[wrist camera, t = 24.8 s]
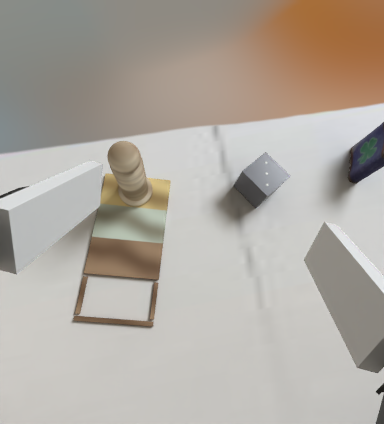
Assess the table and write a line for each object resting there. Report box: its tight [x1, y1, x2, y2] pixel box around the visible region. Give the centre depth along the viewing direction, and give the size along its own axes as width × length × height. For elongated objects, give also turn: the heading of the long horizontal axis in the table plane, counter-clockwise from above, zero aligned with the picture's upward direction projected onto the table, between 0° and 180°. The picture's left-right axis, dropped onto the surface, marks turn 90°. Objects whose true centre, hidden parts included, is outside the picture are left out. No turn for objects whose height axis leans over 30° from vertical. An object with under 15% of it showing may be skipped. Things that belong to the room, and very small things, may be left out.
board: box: [74, 174, 170, 326], centre depth 41 cm, size 25×12×1 cm, turn 175°
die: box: [234, 152, 290, 208], centre depth 44 cm, size 6×6×6 cm
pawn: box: [108, 141, 153, 207], centre depth 37 cm, size 6×6×14 cm
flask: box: [348, 122, 384, 183], centre depth 45 cm, size 9×3×11 cm, turn 162°
